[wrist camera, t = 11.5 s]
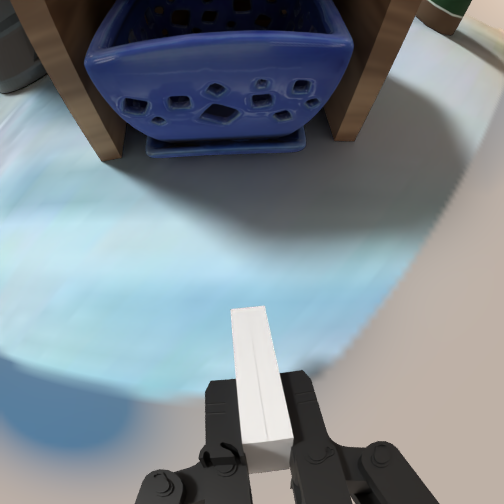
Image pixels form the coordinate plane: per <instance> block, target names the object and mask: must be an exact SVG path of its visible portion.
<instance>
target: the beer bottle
mask: <svg viewBox="0 0 504 504" xmlns="http://www.w3.org/2000/svg"><path fill="white" fill-rule="evenodd" d="M471 1H472V0H422V1H421V4H420V6H419V8H418V11H417V13H416V17H417V18H418V19H419V20H420V21H422V22H423V23H424V24H425V25H426V26H428V27H430V28H432V29H433V30H435V31H437V32H439V33H441V34H445V35H453V33H454V32H455V30H456V29H457V27H458V25H459V23H460V22H461V20H462V18H463V16H464V14H465V12H466V11H467V9H468V7H469V5H470V3H471Z"/></svg>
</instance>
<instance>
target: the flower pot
mask: <svg viewBox="0 0 504 504" xmlns="http://www.w3.org/2000/svg"><path fill="white" fill-rule="evenodd" d="M234 1H235V0H210V1H209V2H205V1H204V0H173V1H169V0H116V2H115V3H114V5H113V6H112V7H111V9H110V10H109V12H108V13H107V15H106V16H105V18H104V19H103V21H102V23H101V24H100V26H99V28H98V29H97V31H96V33H95V35H94V37H93V39H92V41H91V43H90V46H89V48H88V50H87V53H86V56H85V60H84V66H85V69H86V71H87V73H88V75H89V77H90V78H91V80H92V82H93V83H94V85H95V87H96V88H97V89H98V91H99V92H100V94H101V95H102V96H103V98H104V99H105V100H106V102H107V103H108V104H109V105H110V106H111V108H112V109H113V110H114V111H115V112H116V113H117V114H118V115H119V116H120V117H121V118H122V119H124V120H125V121H126V122H127V123H128V124H130V125H131V126H132V127H134V128H135V129H137V130H139V131H140V132H142V133H144V134H146V135H147V141H146V154H147V155H148V156H149V157H152V158H169V157H184V156H202V155H224V154H255V153H287V152H297V151H300V150H302V149H304V148H305V146H306V136H305V130H304V125H305V124H306V123H307V122H309V121H310V120H311V119H312V118H313V117H314V116H315V115H316V114H317V113H318V112H319V111H320V109H321V108H322V107H323V106H324V105H325V104H326V102H327V101H328V100H329V98H330V97H331V95H332V94H333V92H334V91H335V89H336V88H337V86H338V84H339V82H340V81H341V79H342V77H343V75H344V73H345V70H346V68H347V66H348V64H349V61H350V58H351V56H352V53H353V49H354V43H353V39H352V37H351V35H350V33H349V31H348V29H347V27H346V25H345V23H344V21H343V19H342V17H341V15H340V13H339V11H338V9H337V8H336V6H335V4H334V2H333V1H332V0H275V1H274V2H269V1H267V0H250V6H251V9H250V10H248V11H235V10H234ZM157 7H162V8H163V13H162V14H159V13H156V12H155V8H157ZM300 9H301V10H300ZM176 10H188V12H189V17H188V25H179V24H173V23H172V13H173V12H174V11H176ZM282 10H286V14H283V13H282ZM205 11H215V12H216V13H217V15H216V18H215V20H214V21H204V20H203V19H202V17H203V14H204V12H205ZM260 15H265V16H267V17H269V18H270V19H271V21H270V22H269V24H268V26H266V27H264V26H260V25H257V24H256V23H255V21H256V19H257V18H258V16H260ZM145 16H146V18H147V21H148V24H147V23H146V20H145ZM229 22H234V23H235V24H234V26H233V27H228V25H227V24H228V23H229ZM294 27H295V28H294ZM193 28H198V29H200V32H199V33H193V32H192V29H193ZM164 29H165V30H167V34H166V35H163V33H162V31H163V30H164ZM293 29H294V31H293ZM128 38H129V40H130V43H129V40H128Z"/></svg>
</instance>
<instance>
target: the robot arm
mask: <svg viewBox="0 0 504 504" xmlns="http://www.w3.org/2000/svg"><path fill="white" fill-rule="evenodd" d="M46 73H47V72H46V70H45V68H44V66H43V64H42V63H41V61H40V59H39V57H38V55H37V53H36V51H35V50H34V48H33V46H32V44H31V42H30V40H29V38H28V36H27V34H26V32H25V30H24V28H23V26H22V24H21V22H20V20H19V18H18V16H17V14H16V12H15V10H14V8H13V6H12V4H11V1H10V0H0V92H1V93H8V92H12V91H15V90H18V89H20V88H23V87H25V86H27V85H29V84H30V83H32V82H34V81H36V80H37V79H39V78H40V77H42V76H43V75H45V74H46ZM231 322H232V335H233V348H234V360H235V372H236V379H229V380H216V381H210V383H209V385H208V387H207V389H206V391H205V405H206V406H205V413H206V415H205V420H206V421H205V424H206V425H205V428H206V445H204V447H203V448H202V449H201V451H200V454H199V460H200V462H198V463H197V464H196V465H194V466H192V467H190V468H187V469H183V470H180V471H177V472H171V471H169V470H160V469H159V470H156V471H152V472H151V473H149V474H148V475H147V476H146V477H145V479H144V480H143V482H142V485H141V488H140V490H139V493H138V496H137V499H136V502H135V504H253V502H252V494H251V487H250V480H249V474H252V473H262V472H270V471H278V470H285V469H289V468H290V470H291V475H292V479H291V488H290V489H293V493H294V498H295V504H352V501H351V497H352V499H353V501H354V502H355V504H439V503H438V501H437V500H436V499H435V497H434V496H433V495H432V493H431V492H430V491H429V490H428V488H427V487H426V486H425V484H424V483H423V482H422V481H421V479H420V478H419V476H418V475H417V474H416V472H415V471H414V470H413V469H412V467H411V466H410V465H409V463H408V462H407V461H406V459H405V458H404V457H403V455H402V454H401V453H400V451H399V450H398V449H397V448H396V447H395V446H394V445H393V444H391V443H388V442H386V441H378V442H375V443H372V444H370V445H369V446H367V447H366V448H358V447H357V448H356V447H345V446H341V445H338V444H337V443H335V442H334V441H332V440H331V438H330V437H329V436H328V433H327V431H326V427H325V424H324V421H323V417H322V414H321V411H320V408H319V404H318V402H317V398H316V395H315V392H314V388H313V385H312V381H311V379H310V378H309V377H308V376H307V374H306V373H305V372H304V371H303V370H300V371H293V372H286V373H279V369H278V364H277V360H276V355H275V351H274V346H273V342H272V337H271V333H270V328H269V324H268V319H267V315H266V310H265V306H257V307H247V308H237V309H231ZM350 496H351V497H350Z"/></svg>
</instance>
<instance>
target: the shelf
mask: <svg viewBox="0 0 504 504" xmlns="http://www.w3.org/2000/svg"><path fill="white" fill-rule="evenodd" d="M10 1H11V4H12V6H13V8H14V10H15V12H16V14H17V16H18V18H19V20H20V22H21V24H22V26H23V28H24V30H25V32H26V34H27V36H28V38H29V40H30V42H31V44H32V46H33V48H34V50H35V51H36V53H37V55H38V57H39V59H40V61H41V63H42V64H43V66H44V68H45V70H46V72H47V73H48V75H49V77H50V79H51V80H52V82H53V84H54V86H55V87H56V89H57V91H58V92H59V94H60V96H61V98H62V99H63V101H64V103H65V104H66V106H67V108H68V109H69V111H70V113H71V114H72V116H73V117H74V119H75V121H76V122H77V124H78V126H79V127H80V129H81V130H82V132H83V133H84V135H85V137H86V138H87V140H88V141H89V143H90V144H91V146H92V148H93V149H94V151H95V152H96V154H97V155H98V157H99V158H100V160H101V161H107V160H112V159H118V158H122V152H123V144H124V138H125V131H126V125H127V122H126V121H125V120H124V119H122V118H121V117H120V116H119V115H118V114H117V113H116V112H115V111H114V110H113V109H112V108H111V106H110V105H109V104H108V103H107V102H106V100H105V99H104V98H103V96H102V95H101V94H100V92H99V91H98V89H97V88H96V87H95V85H94V83H93V82H92V80H91V78H90V77H89V75H88V73H87V71H86V69H85V66H84V60H85V56H86V53H87V50H88V48H89V46H90V43H91V41H92V39H93V37H94V35H95V33H96V31H97V29H98V28H99V26H100V24H101V23H102V21H103V19H104V18H105V16H106V15H107V13H108V12H109V10H110V9H111V7H112V6H113V5H114V3H115V2H116V0H10ZM169 1H173V0H169ZM204 1H205V2H209V1H210V0H204ZM267 1H269V2H274V1H275V0H267ZM332 1H333V2H334V4H335V6H336V8H337V9H338V11H339V13H340V15H341V17H342V19H343V21H344V23H345V25H346V27H347V29H348V31H349V33H350V35H351V37H352V39H353V43H354V49H353V53H352V56H351V58H350V61H349V64H348V66H347V68H346V70H345V73H344V75H343V77H342V79H341V81H340V82H339V84H338V86H337V88H336V89H335V91H334V92H333V94H332V95H331V97H330V98H329V100H328V101H327V102H326V104H325V105H324V106H323V107H324V110H325V113H326V116H327V119H328V123H329V126H330V129H331V132H332V135H333V139H334V141H355V139H356V137H357V135H358V133H359V131H360V129H361V127H362V125H363V123H364V121H365V119H366V117H367V115H368V113H369V111H370V109H371V107H372V105H373V103H374V101H375V99H376V97H377V95H378V93H379V91H380V89H381V87H382V85H383V83H384V81H385V79H386V77H387V75H388V73H389V71H390V69H391V67H392V65H393V62H394V60H395V58H396V56H397V54H398V52H399V50H400V48H401V46H402V43H403V41H404V39H405V37H406V35H407V33H408V30H409V28H410V26H411V24H412V22H413V19H414V17H415V15H416V13H417V11H418V8H419V6H420V4H421V1H422V0H332ZM250 9H251V6H250V0H235V1H234V10H235V11H248V10H250ZM300 10H301V9H300ZM155 12H156V13H159V14H162V13H163V8H162V7H157V8H155ZM282 13H283V14H286V10H282ZM216 15H217V13H216V12H215V11H205V12H204V14H203V17H202V19H203V20H204V21H214V20H215V18H216ZM188 17H189V12H188V10H176V11H174V12H173V13H172V23H173V24H179V25H188ZM145 20H146V23H147V24H148V21H147V18H146V16H145ZM270 21H271V19H270V18H269V17H267V16H265V15H260V16H258V18H257V19H256V21H255V23H256V24H257V25H260V26H264V27H266V26H268V24H269V22H270ZM234 24H235V23H234V22H229V23H228V24H227V25H228V27H233V26H234ZM294 28H295V27H294ZM293 31H294V29H293ZM192 32H193V33H199V32H200V29H198V28H193V29H192ZM162 33H163V35H166V34H167V30H165V29H164V30H163V31H162ZM128 40H129V38H128ZM129 43H130V40H129Z"/></svg>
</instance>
